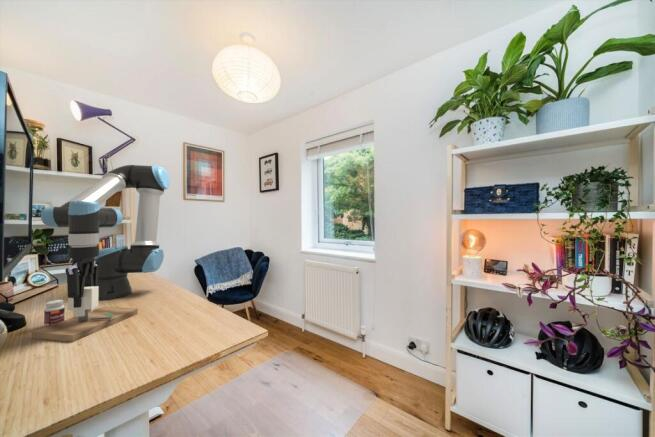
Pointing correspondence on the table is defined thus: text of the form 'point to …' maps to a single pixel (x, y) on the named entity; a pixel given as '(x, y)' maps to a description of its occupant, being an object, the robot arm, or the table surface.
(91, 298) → the white boxy piece
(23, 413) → the table surface
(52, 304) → the pill bottle
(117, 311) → the board
